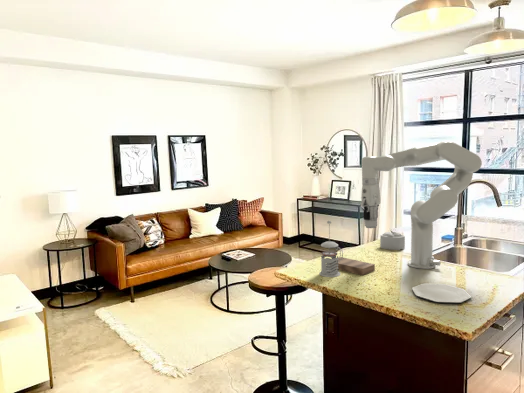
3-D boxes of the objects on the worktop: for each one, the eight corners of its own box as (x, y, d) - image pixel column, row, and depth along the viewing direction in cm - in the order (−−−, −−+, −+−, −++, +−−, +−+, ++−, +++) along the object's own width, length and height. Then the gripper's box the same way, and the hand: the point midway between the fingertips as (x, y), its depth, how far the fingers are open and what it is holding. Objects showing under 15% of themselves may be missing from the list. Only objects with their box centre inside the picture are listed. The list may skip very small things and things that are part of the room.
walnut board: (374, 270, 182) (374, 264, 181) (362, 275, 175) (362, 269, 175) (340, 262, 196) (339, 256, 196) (327, 266, 190) (327, 260, 190)
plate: (479, 296, 147) (479, 293, 146) (451, 310, 135) (451, 306, 135) (431, 283, 163) (431, 280, 163) (402, 294, 151) (402, 290, 151)
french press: (315, 272, 181) (314, 220, 179) (335, 268, 186) (335, 217, 183) (326, 278, 172) (325, 223, 170) (348, 274, 177) (347, 220, 174)
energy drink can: (376, 226, 192) (376, 196, 190) (377, 228, 186) (377, 197, 184) (364, 226, 193) (363, 196, 191) (364, 228, 187) (364, 197, 185)
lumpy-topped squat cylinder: (385, 244, 231) (385, 230, 230) (407, 247, 223) (407, 232, 222) (378, 248, 223) (378, 233, 222) (401, 251, 215) (401, 235, 214)
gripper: (366, 183, 178) (367, 222, 180) (386, 180, 190) (387, 216, 192) (353, 183, 184) (354, 220, 186) (373, 180, 195) (373, 215, 197)
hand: (370, 218), depth 189 cm, fingers closed on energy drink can, 6 cm apart
